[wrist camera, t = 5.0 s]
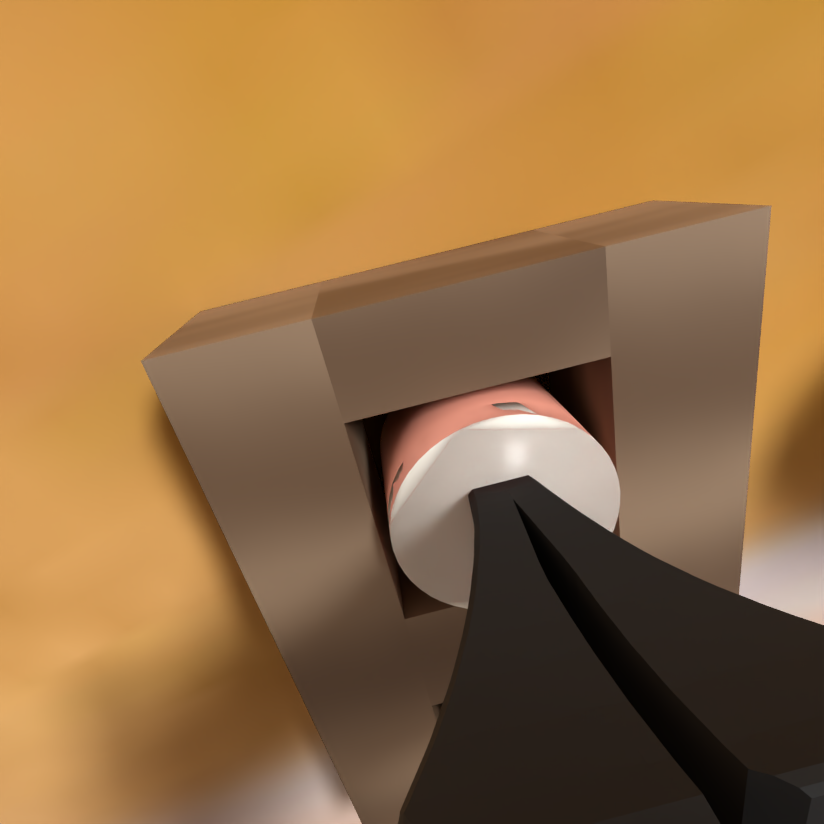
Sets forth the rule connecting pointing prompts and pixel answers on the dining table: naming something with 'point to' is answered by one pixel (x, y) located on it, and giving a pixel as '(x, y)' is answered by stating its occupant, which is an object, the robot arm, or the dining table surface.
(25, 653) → the dining table surface
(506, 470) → the plunger
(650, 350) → the housing
